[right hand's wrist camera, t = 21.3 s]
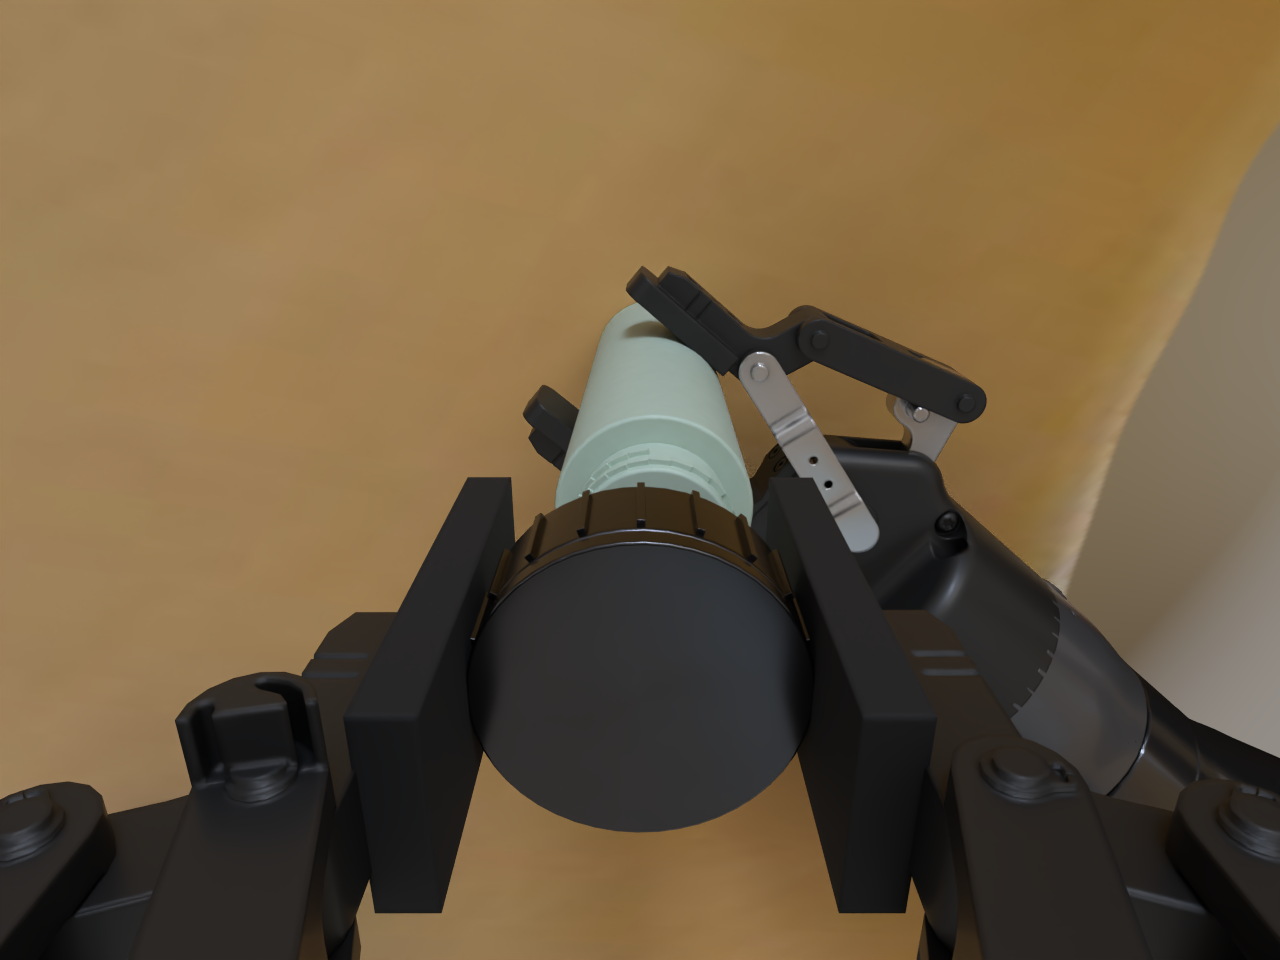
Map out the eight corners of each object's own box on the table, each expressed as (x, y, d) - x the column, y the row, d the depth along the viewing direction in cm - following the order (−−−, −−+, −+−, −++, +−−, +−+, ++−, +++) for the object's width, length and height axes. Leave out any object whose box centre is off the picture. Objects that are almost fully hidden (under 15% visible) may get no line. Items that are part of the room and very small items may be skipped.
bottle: (730, 340, 31) (807, 515, 16) (668, 429, 32) (682, 671, 17) (636, 277, 30) (621, 397, 15) (577, 371, 31) (505, 570, 16)
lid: (855, 553, 12) (890, 619, 10) (714, 786, 14) (723, 877, 12) (554, 428, 11) (538, 479, 10) (443, 690, 13) (412, 773, 11)
